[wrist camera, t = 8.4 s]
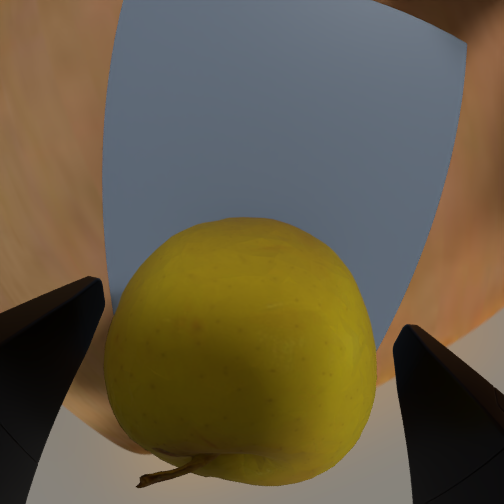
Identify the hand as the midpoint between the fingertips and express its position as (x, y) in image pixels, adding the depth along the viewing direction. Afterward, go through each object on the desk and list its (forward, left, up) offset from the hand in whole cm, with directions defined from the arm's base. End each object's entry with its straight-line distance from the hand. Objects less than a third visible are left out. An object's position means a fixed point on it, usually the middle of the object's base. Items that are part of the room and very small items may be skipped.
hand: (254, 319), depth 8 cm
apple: (0, 0, -3) cm, 3 cm away
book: (0, 0, -6) cm, 6 cm away
